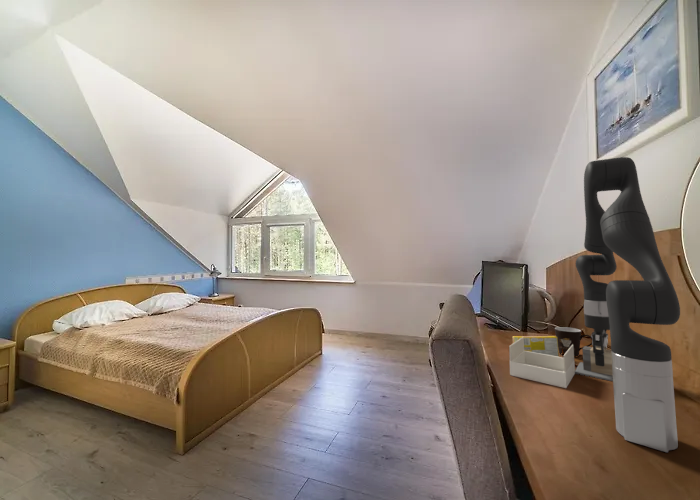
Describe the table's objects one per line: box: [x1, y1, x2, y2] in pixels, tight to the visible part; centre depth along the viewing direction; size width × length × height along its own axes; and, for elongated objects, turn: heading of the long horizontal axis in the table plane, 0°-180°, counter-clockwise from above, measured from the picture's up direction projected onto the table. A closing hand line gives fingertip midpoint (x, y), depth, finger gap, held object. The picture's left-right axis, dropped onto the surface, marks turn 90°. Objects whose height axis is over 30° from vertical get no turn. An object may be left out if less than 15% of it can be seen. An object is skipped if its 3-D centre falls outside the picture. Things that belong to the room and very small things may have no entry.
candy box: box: [512, 335, 560, 357], centre depth 114 cm, size 16×2×8 cm, turn 84°
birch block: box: [581, 345, 613, 375], centre depth 97 cm, size 4×9×7 cm, turn 45°
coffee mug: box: [554, 326, 593, 356], centre depth 115 cm, size 12×9×10 cm
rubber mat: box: [574, 361, 613, 382], centre depth 97 cm, size 13×13×1 cm
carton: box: [508, 337, 576, 389], centre depth 97 cm, size 16×15×10 cm
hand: (601, 362), depth 97 cm, fingers open, 8 cm apart
